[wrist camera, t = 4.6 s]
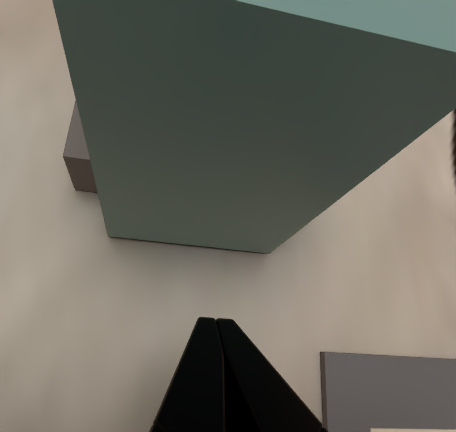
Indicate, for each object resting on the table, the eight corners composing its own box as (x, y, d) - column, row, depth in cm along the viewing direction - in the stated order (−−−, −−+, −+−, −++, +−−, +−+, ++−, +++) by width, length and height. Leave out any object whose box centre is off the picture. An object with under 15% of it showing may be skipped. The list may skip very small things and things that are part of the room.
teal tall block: (269, 253, 17) (562, 24, 5) (108, 236, 16) (24, -121, 4) (270, 138, 19) (479, -204, 7) (128, 114, 18) (112, -349, 6)
